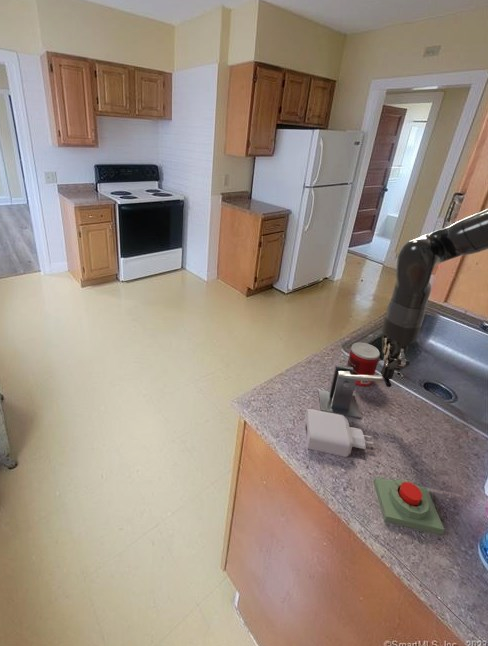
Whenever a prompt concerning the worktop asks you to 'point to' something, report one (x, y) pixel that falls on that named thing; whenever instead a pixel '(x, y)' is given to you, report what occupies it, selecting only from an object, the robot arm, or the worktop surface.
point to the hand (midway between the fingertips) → (386, 376)
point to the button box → (407, 507)
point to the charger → (332, 433)
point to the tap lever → (367, 377)
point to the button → (410, 493)
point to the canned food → (363, 361)
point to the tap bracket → (340, 395)
